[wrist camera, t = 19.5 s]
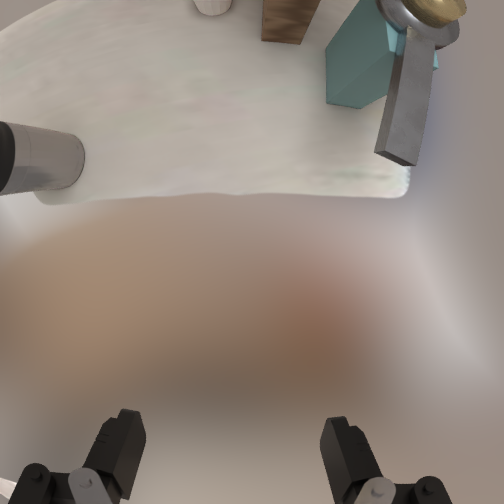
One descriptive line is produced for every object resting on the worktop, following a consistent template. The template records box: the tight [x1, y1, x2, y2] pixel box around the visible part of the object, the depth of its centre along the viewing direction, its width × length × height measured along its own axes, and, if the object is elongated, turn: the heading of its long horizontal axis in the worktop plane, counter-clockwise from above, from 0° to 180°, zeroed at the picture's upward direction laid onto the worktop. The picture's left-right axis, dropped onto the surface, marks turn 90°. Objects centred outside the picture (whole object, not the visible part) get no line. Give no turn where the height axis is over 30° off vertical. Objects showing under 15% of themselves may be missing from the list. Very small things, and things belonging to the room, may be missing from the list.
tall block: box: [326, 0, 438, 109], centre depth 27 cm, size 6×10×21 cm, turn 178°
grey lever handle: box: [374, 0, 466, 166], centre depth 16 cm, size 9×22×6 cm, turn 164°
